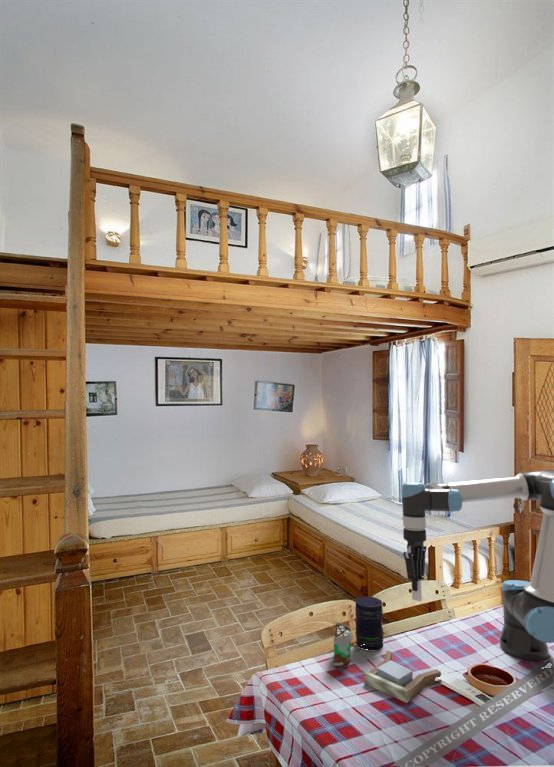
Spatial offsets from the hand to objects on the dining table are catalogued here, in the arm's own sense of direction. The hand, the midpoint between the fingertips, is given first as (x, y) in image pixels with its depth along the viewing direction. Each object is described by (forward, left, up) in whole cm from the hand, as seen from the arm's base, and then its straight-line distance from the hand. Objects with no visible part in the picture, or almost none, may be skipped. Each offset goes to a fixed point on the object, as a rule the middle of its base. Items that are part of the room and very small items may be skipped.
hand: (416, 599), depth 147 cm
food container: (+19, +16, -21) cm, 32 cm away
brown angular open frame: (0, +13, -20) cm, 24 cm away
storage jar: (+19, 0, -21) cm, 28 cm away
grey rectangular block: (0, +16, -21) cm, 26 cm away
